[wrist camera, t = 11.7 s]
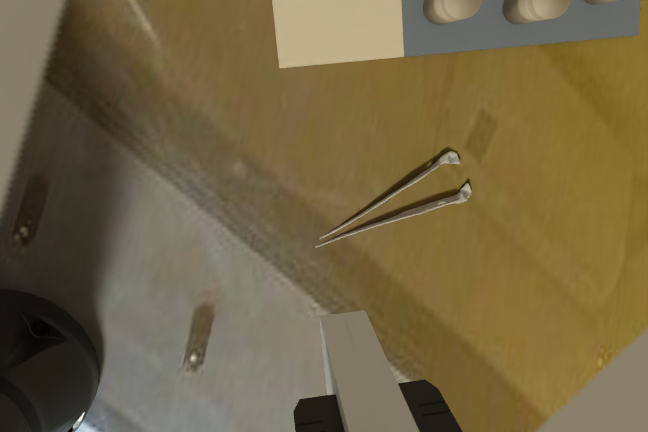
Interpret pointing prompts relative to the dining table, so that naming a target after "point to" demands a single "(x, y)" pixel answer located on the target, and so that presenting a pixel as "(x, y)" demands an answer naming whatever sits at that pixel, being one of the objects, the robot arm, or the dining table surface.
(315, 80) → the dining table surface
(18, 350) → the robot arm
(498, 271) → the dining table surface
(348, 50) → the mat
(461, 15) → the pegs
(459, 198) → the metal tweezers
